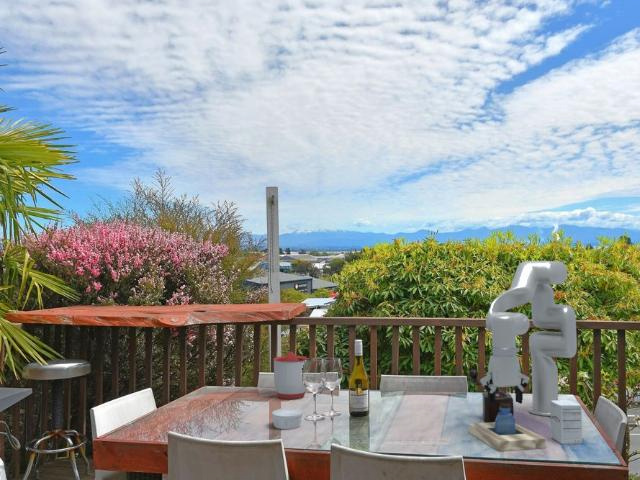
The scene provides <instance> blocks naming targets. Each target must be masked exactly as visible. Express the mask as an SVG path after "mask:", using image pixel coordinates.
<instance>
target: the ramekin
mask: <svg viewBox="0 0 640 480" xmlns="http://www.w3.org/2000/svg"><path fill="white" fill-rule="evenodd" d="M271 416H272V421H273V422H272V423H273V426H274V427H275V428H276V429H279V430H286V431H287V430H296V429H297V428H300V426H301V422H302V416H303V411H302V410H301V409H298V408H289V407H288V408H279V409H275V410H273V411H272V412H271Z"/></svg>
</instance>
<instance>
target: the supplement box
mask: <svg viewBox="0 0 640 480" xmlns="http://www.w3.org/2000/svg"><path fill="white" fill-rule="evenodd" d="M582 416H583V415H582V405H581V404H580V403H577V402H575V401H573V400H569V399H561V400H559V399H558V400H553V401H551V416H550V434H551V435H550V438H551V439H553V440H554V441H556V442H558V443H560V445H578V444H579V445H580V444H583V431H582V430H583V429H582V426H583V422H582V421H583V420H582Z"/></svg>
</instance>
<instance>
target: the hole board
mask: <svg viewBox="0 0 640 480" xmlns="http://www.w3.org/2000/svg"><path fill="white" fill-rule="evenodd" d="M468 433H469V434H471V435H472V436H474V437H475V438H477V439H479V440H480V441H482V442H483V443H484V444H486V445H488V446H490V447H491V448H492V449H495V450H496V451H497V452H507V451H508V452H510V451H513V452H514V451H527V450H528V451H529V450H537V449H538V450H539V449H540V450H542V449H546V438H545V437H543V436H541V435H540V434H537V433H535V432H534V431H531V430H529V429H527V428H525V427H524V426H521V425H519V424H518V423H516V422H515V434H513V435H498V434H496V433H495V422H489V423H485V422H477V423H476V422H475V423H474V422H473V423H468Z"/></svg>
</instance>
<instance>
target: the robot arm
mask: <svg viewBox="0 0 640 480" xmlns="http://www.w3.org/2000/svg"><path fill="white" fill-rule="evenodd" d="M567 277H568V270H567V266H566V264H565V263H564V262H562V261H556V260H555V261H553V260H526V261H523V262H521V263H519V264H518V266H517V268H516V271H515V273H514V276H513V278H512V282H511V284H510V287H509V289H507V290H505V291H504V292H503V293H502V294H500V295H499V296H497V297H496V298H495V299H494V300H493V301H492V302H491V304H490V306H489V309H488V312H487V316H486V318H485V319H486V320H485V326H486V329H487V331H488V332H490V333H491V336H492V337H491V340H492V344H491V345H492V355H490V356H489V360H488V369H487V375H484V377H482V378H481V379H479V383H481V384H482V385H481V387H483V389H484V390H486V391H485V392H487V393H488V402H489V404H491V405H495V393H493V392H494V391H495V389H496V388H497V387H498V388H509V387H511V388H512V387H513V388H514V387H515V392H514V393H515V395H514V396H515V402H516V403H518V404H519V405H520V404H523V400H524V399H523V398H524V397H523V396H524V395H523V393H524V391H525V389H526V388H527V387H528V384H529V382H530V377H529V376H527V375H525V374H524V373H522V371H521V364H520V360H519V356H518V355H517V353H520V348H519V347H517V343H516V342H517V336H521V335H524V334H526V333H527V332H528V331H529V329H530V326H531V325H530V323H531V322H530V319H529V317H528V316H527V315H526V314H524V313H522V312H509V311H508V310H510V309H513V308H516V307H520V306H524V305H526V304H528V303H530V302H531V319H532V320H531V321H532V324H533V326H535V327H536V328H539V329H549V330H551V329H553V330H560V331H561V332H559V331H558V332H555V331H543V330H542V331H540V330H539V331H535V332H533V333H531V334H530V335H529V338H528V347H529V352H530V359H531V381H532V383H531V384H532V385H531V386H532V387H531V388H532V389H531V393H532V394H531V397H532V406H529V407H528V412H529V413H530V414H533V415H535V416H536V415H537V416H543V417H551V401H553V400H559V384H558V383H559V382H558V381H559V380H558V379H559V375H558V374H559V373H558V372H559V371H558V365H557V364H556V362H555V361H554V359H553V358H554V357H555V358H562V359H563V358H565V359H570V358H574V357H575V355H576V354H577V351H578V350H577V349H578V345H577V343H578V342H577V320H576V318H577V317H576V313H575V309H574V308H573V307H572V306H570V305H567V304H556V303H555V292H554V290H553V287H552V285H562V284H564V282H566V281H567ZM486 382H488V383H489V385H487V384H486Z"/></svg>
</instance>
